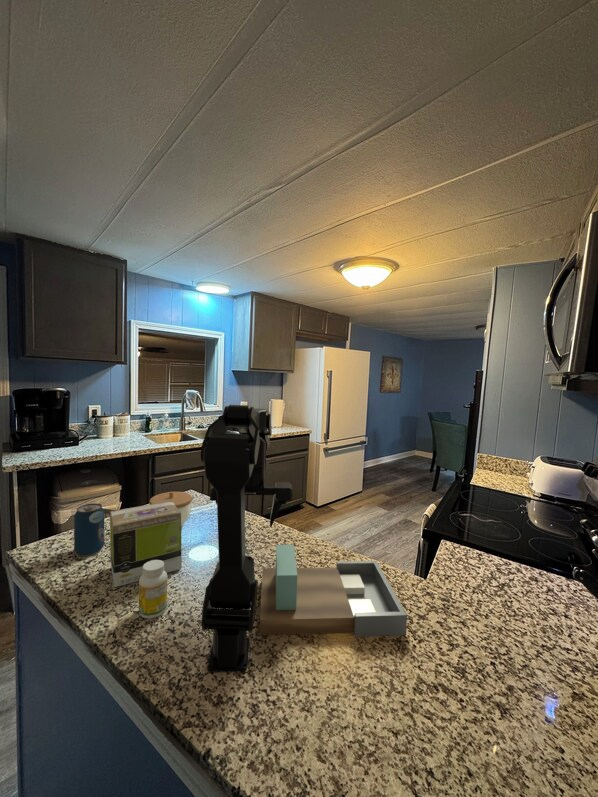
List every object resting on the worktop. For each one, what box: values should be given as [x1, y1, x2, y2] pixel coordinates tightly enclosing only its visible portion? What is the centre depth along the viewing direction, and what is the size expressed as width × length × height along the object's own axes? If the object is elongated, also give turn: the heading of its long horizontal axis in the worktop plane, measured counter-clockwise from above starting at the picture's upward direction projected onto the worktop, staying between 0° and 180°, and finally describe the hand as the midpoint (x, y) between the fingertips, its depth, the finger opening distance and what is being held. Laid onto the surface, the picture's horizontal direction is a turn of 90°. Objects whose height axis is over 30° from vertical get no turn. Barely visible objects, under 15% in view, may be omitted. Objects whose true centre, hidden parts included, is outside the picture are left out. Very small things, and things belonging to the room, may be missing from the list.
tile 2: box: [348, 599, 376, 615], centre depth 68 cm, size 5×5×2 cm
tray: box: [336, 560, 408, 638], centre depth 73 cm, size 19×10×4 cm, turn 4°
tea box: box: [109, 501, 183, 588], centre depth 82 cm, size 15×10×15 cm, turn 123°
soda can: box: [73, 503, 105, 557], centre depth 90 cm, size 7×7×12 cm
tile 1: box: [340, 574, 365, 594], centre depth 77 cm, size 5×5×2 cm
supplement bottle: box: [138, 560, 168, 619], centre depth 68 cm, size 5×5×10 cm
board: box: [259, 567, 354, 636], centre depth 72 cm, size 17×18×3 cm
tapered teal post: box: [275, 544, 298, 610], centre depth 71 cm, size 12×4×7 cm, turn 4°
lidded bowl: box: [149, 491, 193, 528], centre depth 106 cm, size 13×13×11 cm
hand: (251, 526), depth 79 cm, fingers open, 9 cm apart
